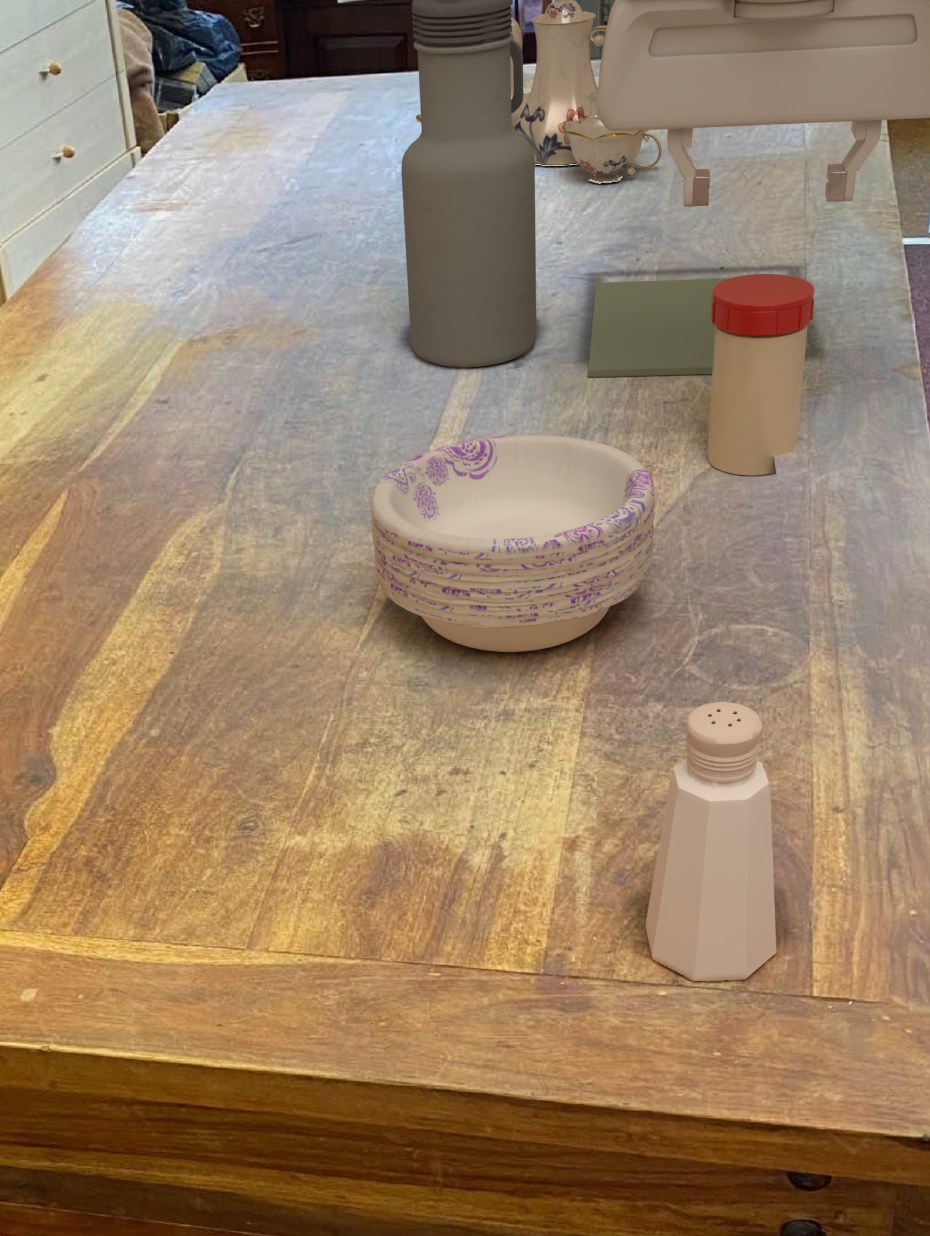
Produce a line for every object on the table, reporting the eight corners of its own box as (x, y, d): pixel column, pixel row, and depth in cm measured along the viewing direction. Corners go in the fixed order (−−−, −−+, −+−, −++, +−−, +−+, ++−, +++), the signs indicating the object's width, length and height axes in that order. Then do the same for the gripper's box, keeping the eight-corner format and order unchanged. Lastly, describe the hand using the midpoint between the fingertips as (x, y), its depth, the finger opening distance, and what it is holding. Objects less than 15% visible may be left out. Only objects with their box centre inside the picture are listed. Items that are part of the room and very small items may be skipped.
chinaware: (396, 190, 172) (377, 23, 161) (468, 134, 182) (455, -26, 171) (644, 209, 158) (642, 28, 148) (707, 147, 168) (709, -26, 158)
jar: (792, 440, 107) (806, 280, 101) (798, 475, 103) (813, 310, 97) (706, 441, 108) (714, 283, 102) (708, 476, 104) (717, 313, 98)
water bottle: (433, 322, 132) (414, -62, 116) (550, 326, 129) (548, -69, 113) (395, 367, 124) (370, -38, 108) (519, 373, 121) (512, -44, 105)
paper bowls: (453, 536, 100) (448, 413, 95) (690, 577, 93) (696, 447, 88) (329, 651, 89) (316, 520, 85) (586, 707, 83) (587, 567, 78)
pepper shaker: (627, 969, 66) (634, 744, 60) (661, 890, 70) (670, 671, 64) (762, 998, 64) (783, 768, 58) (789, 915, 68) (811, 691, 62)
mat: (793, 282, 132) (793, 275, 132) (812, 372, 117) (813, 364, 116) (595, 289, 135) (595, 282, 135) (587, 377, 119) (587, 369, 119)
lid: (807, 301, 102) (810, 271, 101) (815, 334, 97) (818, 304, 96) (709, 304, 103) (711, 275, 102) (712, 337, 98) (714, 307, 97)
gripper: (978, -81, 89) (942, 180, 97) (600, -57, 92) (596, 193, 100) (997, -64, 84) (958, 210, 92) (597, -39, 87) (593, 222, 95)
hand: (766, 201), depth 96 cm, fingers open, 7 cm apart
